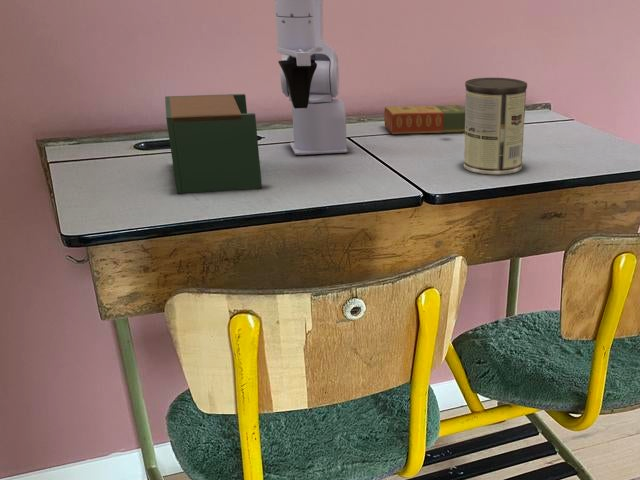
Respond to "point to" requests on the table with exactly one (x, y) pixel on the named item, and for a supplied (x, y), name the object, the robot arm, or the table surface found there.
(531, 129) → the table surface
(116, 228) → the table surface
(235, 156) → the cabinet
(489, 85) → the coffee can
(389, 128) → the carton
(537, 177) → the table surface
